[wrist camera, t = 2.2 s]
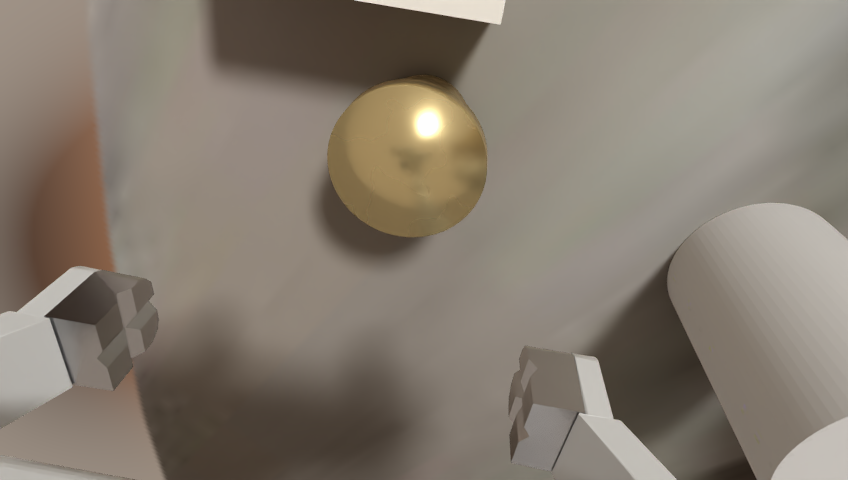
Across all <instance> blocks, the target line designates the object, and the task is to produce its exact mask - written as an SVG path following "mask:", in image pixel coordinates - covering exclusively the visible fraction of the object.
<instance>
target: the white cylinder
mask: <svg viewBox="0 0 848 480" xmlns="http://www.w3.org/2000/svg"><path fill="white" fill-rule="evenodd" d="M667 289H668V294H669V297H670V299H671V301H672V304H673V306H674V308H675V310H676V312H677V314H678V316H679V318H680V320H681V322H682V324H683V327H684V329H685V331H686V333H687V335H688V337H689V339H690V341H691V343H692V345H693V347H694V350H695V352H696V354H697V356H698V358H699V360H700V362H701V364H702V366H703V368H704V370H705V372H706V375H707V377H708V379H709V381H710V383H711V385H712V387H713V389H714V391H715V393H716V395H717V397H718V400H719V402H720V404H721V406H722V408H723V410H724V412H725V414H726V416H727V418H728V420H729V423H730V425H731V427H732V429H733V431H734V433H735V435H736V437H737V439H738V441H739V443H740V445H741V448H742V450H743V452H744V454H745V456H746V458H747V460H748V462H749V464H750V466H751V468H752V471H753V473H754V475H755V477H756V479H757V480H848V240H847V239H846V238H845V237H844V236H843V235H842V234H841V233H839V232H838V231H837V230H836V229H835V228H834V227H832V226H831V225H830V224H829V223H828V222H827V221H826V220H824V219H823V218H822V217H821V216H819V215H818V214H816V213H814V212H812V211H810V210H808V209H805V208H803V207H799V206H796V205H791V204H783V203H762V204H754V205H749V206H744V207H741V208H737V209H734V210H731V211H728V212H726V213H724V214H721V215H719V216H717V217H715V218H713V219H712V220H710V221H708V222H707V223H705V224H704V225H702V226H701V227H699V228H698V229H697V230H696V231H694V232H693V233H692V234H691V235H690V236H689V237H688V238H687V239H686V240H685V241H684V242H683V244H682V245H681V246H680V247H679V249H678V250H677V252H676V253H675V255H674V257H673V259H672V261H671V264H670V267H669V270H668V275H667Z"/></svg>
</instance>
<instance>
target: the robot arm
mask: <svg viewBox="0 0 848 480" xmlns="http://www.w3.org/2000/svg"><path fill="white" fill-rule="evenodd" d="M153 295H154V291H153V287H152V283H151V281H149V280H147V279H145V278H140V277H135V276H130V275H125V274H120V273H115V272H110V271H105V270H98V269H92V268H88V267H83V266H77V267H73V268H70V269H69V270H68V271H67V272H66V273H64V274H63V275H62V276H61V277H59V278H58V279H57V280H56V281H55V282H54V283H52V284H51V285H50V286H48V287H47V288H46V289H45V290H43V291H42V292H41V293H40V294H39V295H38V296H36V297H35V298H34V299H32V300H31V301H30V302H29V303H28V304H26V305H25V306H24V307H23V308H21V309H20V310H19V311H18V312H11V311H8V312H5V313H2V314H0V429H1V428H3V427H5V426H6V425H8V424H10V423H12V422H13V421H15V420H17V419H18V418H20V417H22V416H24V415H25V414H27V413H29V412H30V411H32V410H34V409H35V408H37V407H39V406H41V405H42V404H44V403H46V402H47V401H49V400H51V399H53V398H54V397H56V396H58V395H60V394H61V393H63V392H64V391H66V390H68V389H70V388H72V385H78V386H84V387H91V388H98V389H104V390H111V391H114V390H115V388H116V387H117V386H118V385H119V383H120V382H121V381H122V380H123V379H124V377H125V376H126V375H127V374H128V372H129V371H130V370H131V369H132V367H133V364H132V358H133V357H135V356H137V355H139V354H141V353H144V352H145V351H146V350H147V349H148V347H149V346H150V345H151V343H152V342H153V340H154V337H155V335H156V332H157V330H158V321H159V318H158V312H157V309H156V308H155V307H154V306H153V305H152V304H151V303H150V301H149V300H150V298H151V297H152V296H153ZM519 363H520V370H519V371H517V372H516V373H514V376H513V380H512V383H511V388H510V394H509V406H508V409H509V418H510V419H511V421H512V422H513V426H512V429H511V432H510V455H511V463H514V464H519V465H523V466H528V467H533V468H538V469H543V470H547V471H552V473H551V474H552V475H553V477H554V479H555V480H677V479H676V478H675V477H674V476H673V475H672V474H671V473H670V472H669V471H668V470H667V469H666V468H665V467H664V466H663V465H662V464H661V463H660V461H659V460H658V459H657V458H656V457H655V456H654V455H653V454H652V453H651V452H650V451H649V450H648V449H647V448H646V447H645V446H644V445H643V443H642V442H641V441H640V440H639V439H638V438H637V437H636V436H635V435H634V434H633V433H632V432H631V431H630V430H629V429H628V428H627V427H626V425H625V424H624V423H623V422H622V421H620V420H615V419H614V418H613V415H612V411H611V407H610V403H609V399H608V396H607V392H606V388H605V384H604V380H603V377H602V373H601V369H600V365H599V361H598V360H597V358H596V357H593V356H586V355H580V354H574V353H572V354H570V353H566V352H560V351H554V350H548V349H542V348H536V347H530V346H524V348H523V350H522V352H521V355H520V358H519ZM0 480H135V479H129V478H124V477H118V476H113V475H108V474H102V473H96V472H91V471H85V470H80V469H74V468H70V467H64V466H59V465H53V464H47V463H42V462H37V461H32V460H26V459H21V458H15V457H10V456H4V455H0Z"/></svg>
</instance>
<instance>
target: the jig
mask: <svg viewBox="0 0 848 480" xmlns="http://www.w3.org/2000/svg"><path fill="white" fill-rule="evenodd" d="M356 1H362V2H368V3H374V4H380V5H386V6H392V7H398V8H404V9H410V10H416V11H422V12H428V13H434V14H440V15H446V16H452V17H458V18H464V19H470V20H476V21H482V22H488V23H494V24H500V25H501V20H502V15H503V10H504V5H505V0H356Z"/></svg>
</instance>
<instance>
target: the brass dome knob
mask: <svg viewBox="0 0 848 480" xmlns="http://www.w3.org/2000/svg"><path fill="white" fill-rule="evenodd" d="M327 158H328V169H329V174H330V177H331V181H332V184H333V186H334V188H335V190H336V192H337V194H338V196H339V197H340V199H341V200H342V202H343V203H344V204H345V206H346V207H347V208H348V209H349V210H350V211H351V212H352V213H353V214H354V215H355V216H356V217H358V218H359V219H360V220H361V221H363V222H364V223H366V224H367V225H369V226H371V227H373V228H375V229H377V230H379V231H382V232H385V233H387V234H391V235H396V236H402V237H423V236H429V235H433V234H437V233H440V232H443V231H445V230H447V229H449V228H451V227H453V226H454V225H456V224H457V223H459V222H460V221H461V220H462V219H464V218H465V217H466V216H467V215H468V214H469V213H470V211H471V210H472V209H473V208H474V206H475V205H476V203H477V202H478V200H479V198H480V196H481V194H482V191H483V188H484V185H485V181H486V174H487V145H486V139H485V136H484V132H483V130H482V127H481V125H480V123H479V121H478V119H477V118H476V116H475V114H474V113H473V112H472V110H471V109H470V108H469V107H468V105H467V104H466V103H465V101H464V99H463V97H462V96H461V94H460V93H459V92H458V90H457V89H456V88H454V87H453V86H452V85H451V84H450V83H448V82H446V81H445V80H443V79H440V78H438V77H435V76H431V75H415V76H410V77H407V78H404V79H395V80H389V81H386V82H383V83H380V84H377V85H375V86H373V87H371V88H369V89H368V90H366V91H365V92H363V93H362V94H360V95H359V96H358V97H357V98H356V99H355V100H354V101H353V102H352V103H351V104H350V106H349V107H348V108H347V109H346V110H345V112H344V113H343V114H342V115H341V116H340V118H339V119H338V121H337V123H336V124H335V126H334V129H333V131H332V133H331V136H330V140H329V144H328V153H327Z"/></svg>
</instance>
